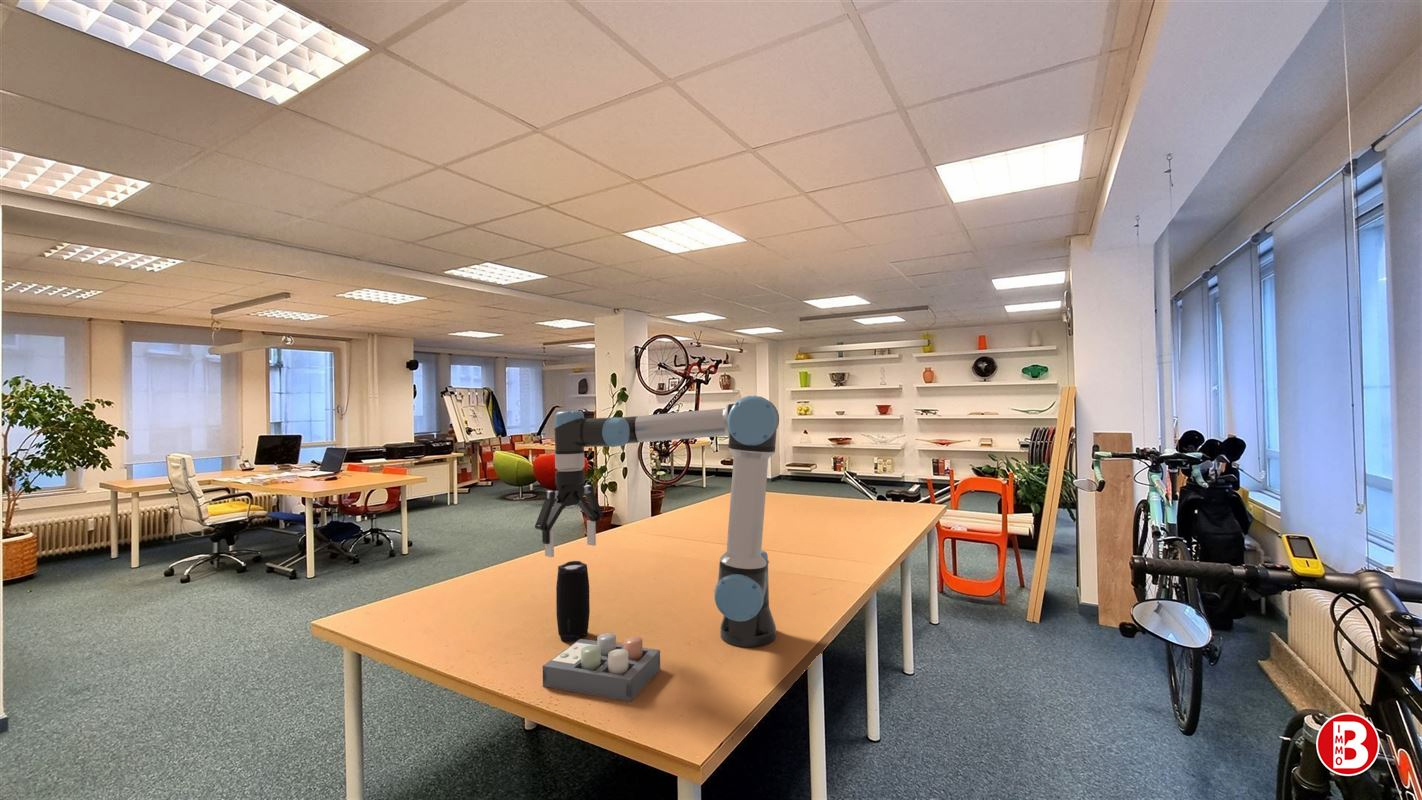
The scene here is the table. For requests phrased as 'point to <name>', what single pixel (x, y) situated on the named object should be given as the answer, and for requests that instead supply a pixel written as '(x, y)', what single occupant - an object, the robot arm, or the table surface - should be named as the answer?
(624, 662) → the button ivory
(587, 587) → the portable speaker
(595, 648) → the button sage
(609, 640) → the button grey
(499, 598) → the table surface
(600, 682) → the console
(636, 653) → the button terracotta
